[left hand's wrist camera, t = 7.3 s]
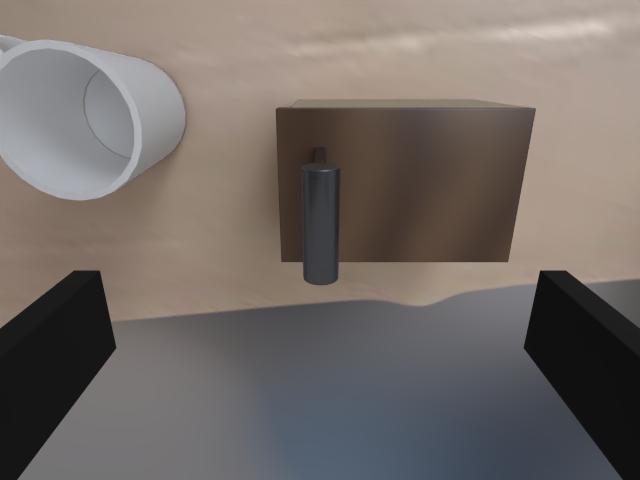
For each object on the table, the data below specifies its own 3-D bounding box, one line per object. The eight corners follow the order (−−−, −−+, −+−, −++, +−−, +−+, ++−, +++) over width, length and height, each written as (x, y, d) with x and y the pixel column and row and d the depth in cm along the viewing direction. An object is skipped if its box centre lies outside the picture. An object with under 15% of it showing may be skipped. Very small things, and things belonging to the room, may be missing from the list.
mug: (215, 112, 33) (173, 126, 24) (148, 188, 36) (84, 229, 26) (101, 1, 31) (1, -35, 21) (35, 91, 33) (-82, 97, 23)
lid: (282, 257, 28) (268, 322, 21) (277, 107, 25) (258, 120, 17) (503, 257, 28) (569, 322, 21) (529, 107, 25) (621, 120, 17)
